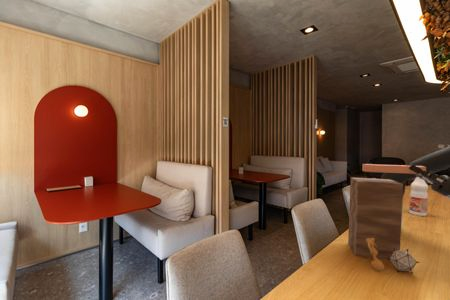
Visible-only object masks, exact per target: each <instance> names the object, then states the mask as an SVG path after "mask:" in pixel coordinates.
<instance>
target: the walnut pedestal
mask: <svg viewBox="0 0 450 300" xmlns="http://www.w3.org/2000/svg"><path fill="white" fill-rule="evenodd" d="M349 183H350V187H349V207H348V208H349V211H348V213H349V214H348V238H347V239H348V243H347V244H348V246H349V247H350V249H351V251H352V253H353V254H354V256H355V257H360V258H366V259H367V258H369V259H374V258H373V255H374V253H373V255H372V254H371V252H370V249H369V247H368V243H367V241H366V239H367V238H374V240H375V241H374V243H375V244H376V246H377V247H376V246H375V245H374V248H375V249H376V250H377V251H378V254H377V255H376V257H377V258H378V259H379V260H380V261H382V260H383V261H387V262H388V261H389V262H391V261H390V257H391V255H392V254H393V252H394V249H393V248H395V250H401V237H402V236H401V235H402V234H401V233H402V229H401V219H402V220H403V212H402V197H403V198H404V196H403V184H401V183H399V182H396V181H393V180H390V179H381V178H374V177H373V178H369V177H354V176H353V177H350V182H349ZM387 258H389V260H388V259H387Z"/></svg>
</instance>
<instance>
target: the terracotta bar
mask: <svg viewBox="0 0 450 300" xmlns="http://www.w3.org/2000/svg"><path fill="white" fill-rule="evenodd" d="M361 166H362V172H365V173H366V172H367V173H384V172H385V173H409V174H418V173H416V172H414V171H412V170H410V169H409V167H410V166H406V164H405V165H402V164H401V165H400V164H376V163H375V164H373V163H362V165H361ZM417 167H419V168H420V169H424V170H425V171H426V167H424V166H417Z"/></svg>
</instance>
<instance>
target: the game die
mask: <svg viewBox="0 0 450 300" xmlns="http://www.w3.org/2000/svg"><path fill="white" fill-rule="evenodd" d="M393 249H394V252H393V254H392V255H391V257H390V261H389V262H391V263H392V265H393V266H395V268H396V269H397V270H396V271H397V272H396V273H399V272H401V271H402V272H410V273H411V274H413V269H414V268H415V266H416V264H420V263H421V262H420V261H416V259H415V257H413V256H412V255H411V253H410V251H409V248H407V249H406V250H401V249H400V250H395V248H393ZM387 259H388V260H389V258H387ZM388 260H387V261H388Z"/></svg>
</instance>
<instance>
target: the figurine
mask: <svg viewBox="0 0 450 300" xmlns="http://www.w3.org/2000/svg"><path fill="white" fill-rule="evenodd" d="M366 241H367V243H368V247H369V249H370V252H371V254H372V255H373V253H374V255H373V258H372V259H373V260H372V261H371V266H372V267H371V268H372V269H374V270H375V271H377V272H382V271H383V270H384V268H385V265H384V263H383V261H382V260H381V259H378V258H377V257H376V255H377V254H378V251H377V250H376V249H375V248H374V245H375V246H376V244H375V243H374V241H375V240H374V238H367V239H366ZM376 247H377V246H376Z"/></svg>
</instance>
